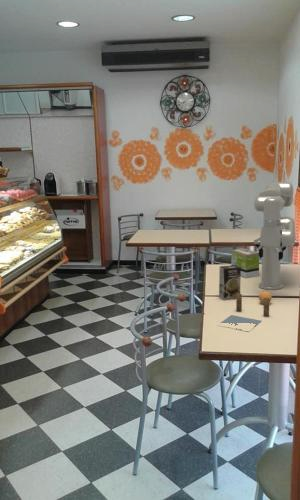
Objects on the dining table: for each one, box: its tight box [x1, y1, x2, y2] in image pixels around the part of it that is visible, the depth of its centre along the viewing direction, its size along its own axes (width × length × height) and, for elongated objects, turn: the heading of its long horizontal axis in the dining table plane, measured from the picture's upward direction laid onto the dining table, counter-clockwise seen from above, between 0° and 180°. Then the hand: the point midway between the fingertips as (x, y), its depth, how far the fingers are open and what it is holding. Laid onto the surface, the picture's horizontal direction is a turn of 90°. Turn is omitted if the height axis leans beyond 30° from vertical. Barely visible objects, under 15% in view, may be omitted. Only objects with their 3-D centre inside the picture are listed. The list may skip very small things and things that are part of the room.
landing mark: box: [220, 314, 262, 330], centre depth 180 cm, size 14×14×1 cm
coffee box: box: [218, 265, 242, 301], centre depth 213 cm, size 9×6×16 cm
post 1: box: [235, 293, 243, 313], centre depth 194 cm, size 2×2×8 cm
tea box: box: [230, 248, 260, 279], centre depth 255 cm, size 15×10×15 cm
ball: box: [258, 290, 273, 304], centre depth 204 cm, size 6×6×6 cm
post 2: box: [262, 298, 270, 318], centre depth 187 cm, size 2×2×8 cm
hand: (270, 258), depth 207 cm, fingers open, 9 cm apart
